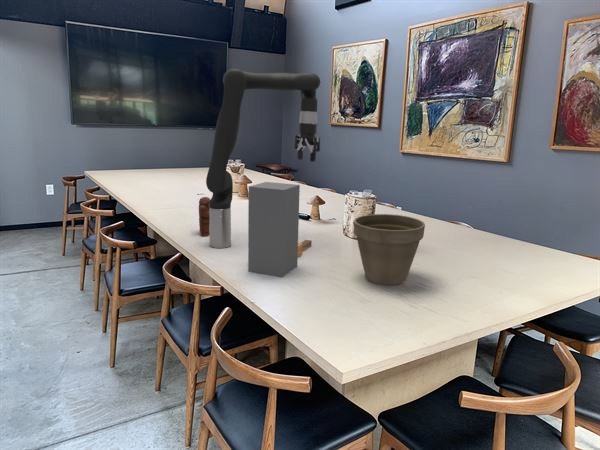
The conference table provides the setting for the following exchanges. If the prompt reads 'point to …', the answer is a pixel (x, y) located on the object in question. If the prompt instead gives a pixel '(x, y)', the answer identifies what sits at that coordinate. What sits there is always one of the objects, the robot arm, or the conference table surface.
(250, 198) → the pedestal
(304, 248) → the mallet
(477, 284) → the conference table surface
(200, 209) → the wooden figurine
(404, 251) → the plant pot
